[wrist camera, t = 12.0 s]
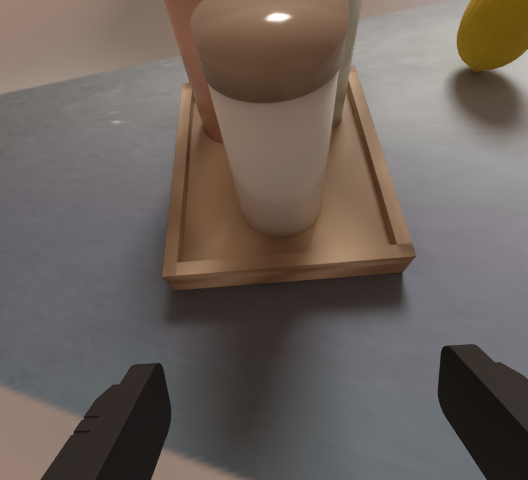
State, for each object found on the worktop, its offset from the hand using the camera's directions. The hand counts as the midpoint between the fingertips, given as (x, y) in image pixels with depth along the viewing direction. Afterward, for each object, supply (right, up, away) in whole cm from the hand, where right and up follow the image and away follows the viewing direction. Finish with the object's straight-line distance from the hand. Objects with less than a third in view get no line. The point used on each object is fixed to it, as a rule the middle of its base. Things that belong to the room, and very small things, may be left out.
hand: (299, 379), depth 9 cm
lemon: (+17, +19, +18) cm, 31 cm away
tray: (0, +9, +14) cm, 17 cm away
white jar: (0, +6, +11) cm, 13 cm away
